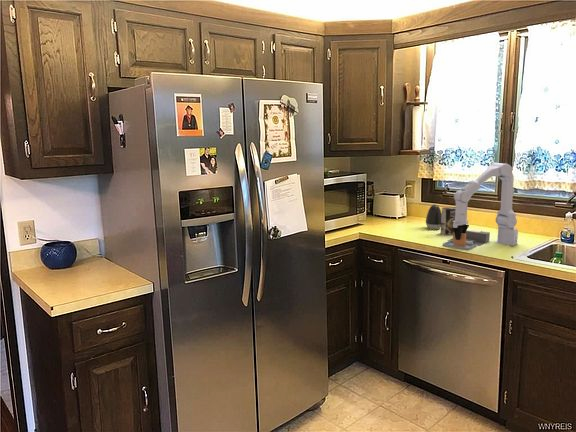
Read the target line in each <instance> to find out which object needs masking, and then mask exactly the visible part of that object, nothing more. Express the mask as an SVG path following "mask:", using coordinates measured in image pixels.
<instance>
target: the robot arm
mask: <svg viewBox="0 0 576 432" xmlns="http://www.w3.org/2000/svg"><path fill="white" fill-rule="evenodd" d="M492 177H498V178H499V179H500V180H501V191H500V194H501V195H500V209H499V210H498V211H497V213H496V214H497V215H496V216H495V223H496V224H497V240H496V241H495V242H494V243H495V244H501V245H508V246H509V247H510V246H511V247H513V246H515V245H517V244H518V238H519V237H518V235H519V230H518V228H515V227H516V225H517V221H518V219H517V217H516V215H517V214H516V213H515V212H514V210H513V195H514V181H515V179H514V178H515V177H514V174H513V167H512V166H511V165H510V164H509V163H501V162H500V163H499V162H492V163H490V164H489V165H488V166H487V168H486V169H485V171H483V172H482V174H481V175H479V177H477V178H476V179H475V180H469V181H468V182H467V184H466V185H465V186H464V187H462V188H461V189H460V190H456V192H455V193H454V195H453V199H454V201H455V207H456V210H455V221H453V223H454V224H453V226H452V229H453V231H454V234H455V239H456V240H460V238H461V233H466V231H467V229H469V227H470V225H469V219H468V203H469V201H470V200H471V198H472V196H473V195H475V193H477V192H478V191H479V190H480V189H481V188H480V187H481V185H482V184H485V182H486V181H488V180H489V179H490V178H492Z"/></svg>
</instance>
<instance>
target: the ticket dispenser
mask: <svg viewBox="0 0 576 432" xmlns="http://www.w3.org/2000/svg"><path fill="white" fill-rule="evenodd" d="M490 233H491V232H489V231H482V230H480V229H479V230H477V229H471V228H468V229H467V231H466V233H465V234H466V243H472V244H477V247H482V246H483V245H485V244H487V243H489V242H490V237H491V236H490V235H491V234H490ZM452 236H453V238H451V239H448V240H447V242H448V241H450V240H453V239H454V235H452Z"/></svg>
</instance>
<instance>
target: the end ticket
mask: <svg viewBox="0 0 576 432" xmlns="http://www.w3.org/2000/svg"><path fill="white" fill-rule="evenodd" d="M453 236H454V239H453V238H452V239H453V245H455V246H462V247H466V234H465V233H461V238H460V240H456V239H455V234H454V235H453Z"/></svg>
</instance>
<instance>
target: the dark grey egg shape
mask: <svg viewBox="0 0 576 432" xmlns="http://www.w3.org/2000/svg"><path fill="white" fill-rule="evenodd" d="M441 216H442V209H441V208H440V206H439V205H438V204H432V205H431V206H429V208H428V211H427V214H426V218H425V224H426V227H427V228H428V229H430V230H439V229H441Z"/></svg>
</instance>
